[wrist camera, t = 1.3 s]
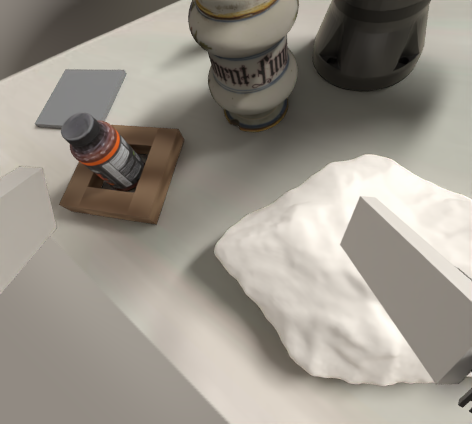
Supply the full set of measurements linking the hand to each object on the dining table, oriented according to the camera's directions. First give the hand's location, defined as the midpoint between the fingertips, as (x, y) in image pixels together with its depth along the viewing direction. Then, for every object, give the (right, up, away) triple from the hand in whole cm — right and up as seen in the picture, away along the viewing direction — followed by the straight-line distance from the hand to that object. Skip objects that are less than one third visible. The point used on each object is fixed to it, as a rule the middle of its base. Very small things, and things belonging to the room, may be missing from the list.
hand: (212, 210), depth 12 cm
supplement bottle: (-15, +6, +29) cm, 33 cm away
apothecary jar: (+4, +16, +30) cm, 34 cm away
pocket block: (-15, +6, +29) cm, 33 cm away
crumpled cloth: (+17, -6, +18) cm, 26 cm away
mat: (-27, +20, +37) cm, 50 cm away
